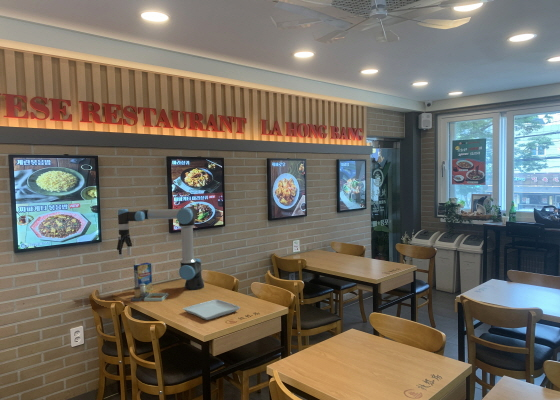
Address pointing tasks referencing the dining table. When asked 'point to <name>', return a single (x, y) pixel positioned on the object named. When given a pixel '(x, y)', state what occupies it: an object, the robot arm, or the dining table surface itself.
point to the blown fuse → (137, 292)
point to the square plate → (211, 309)
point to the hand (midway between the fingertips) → (125, 256)
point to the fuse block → (140, 298)
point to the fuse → (142, 288)
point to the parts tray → (156, 298)
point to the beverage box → (143, 275)
